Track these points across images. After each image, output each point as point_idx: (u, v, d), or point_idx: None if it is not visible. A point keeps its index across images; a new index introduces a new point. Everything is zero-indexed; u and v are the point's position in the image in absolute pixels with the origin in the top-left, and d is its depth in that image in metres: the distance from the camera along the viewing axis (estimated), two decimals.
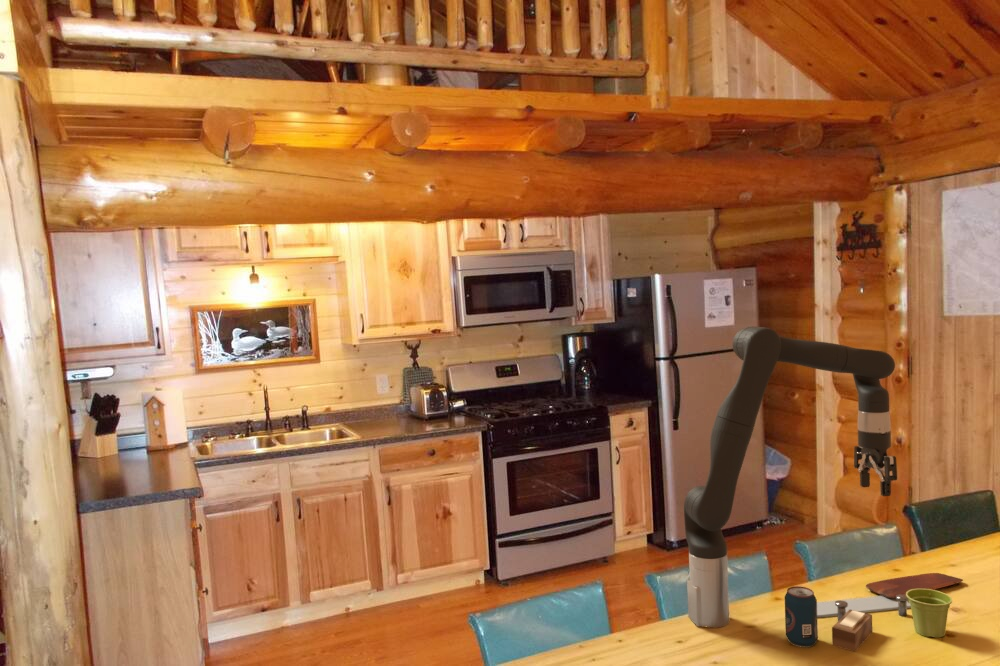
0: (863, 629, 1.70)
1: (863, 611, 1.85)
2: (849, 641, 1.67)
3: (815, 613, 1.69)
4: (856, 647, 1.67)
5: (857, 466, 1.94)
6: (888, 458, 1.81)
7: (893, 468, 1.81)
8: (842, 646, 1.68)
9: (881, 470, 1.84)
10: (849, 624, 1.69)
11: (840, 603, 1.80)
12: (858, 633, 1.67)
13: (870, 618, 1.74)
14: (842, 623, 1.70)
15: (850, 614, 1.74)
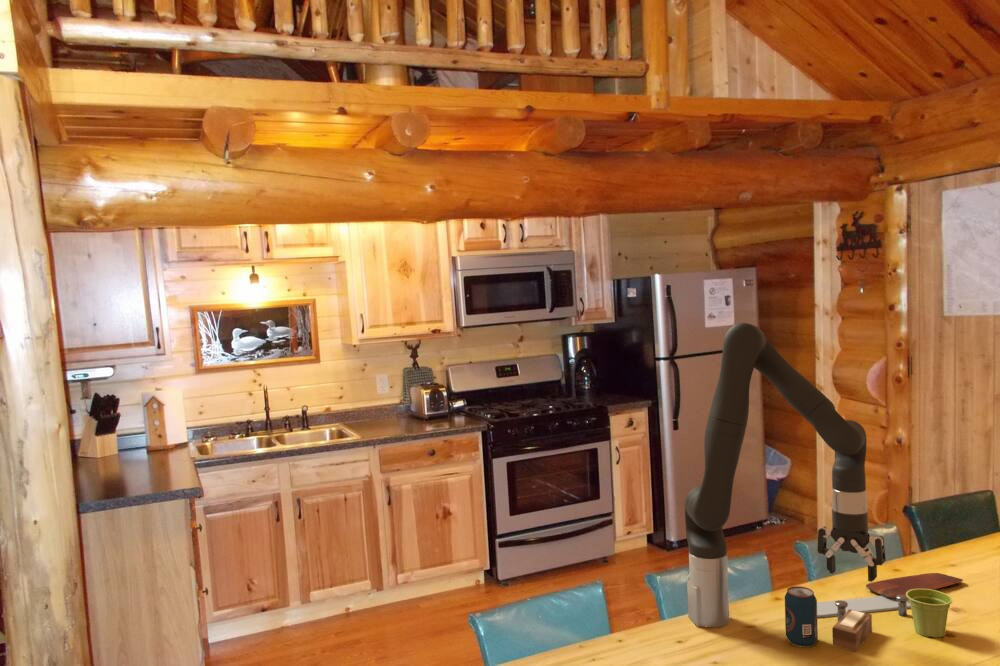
0: (863, 628, 1.70)
1: (863, 611, 1.85)
2: (849, 641, 1.67)
3: (815, 613, 1.69)
4: (856, 647, 1.66)
5: None
6: None
7: None
8: (842, 646, 1.68)
9: None
10: (849, 624, 1.69)
11: (840, 603, 1.80)
12: (858, 633, 1.67)
13: (870, 618, 1.74)
14: (842, 623, 1.70)
15: (850, 614, 1.74)
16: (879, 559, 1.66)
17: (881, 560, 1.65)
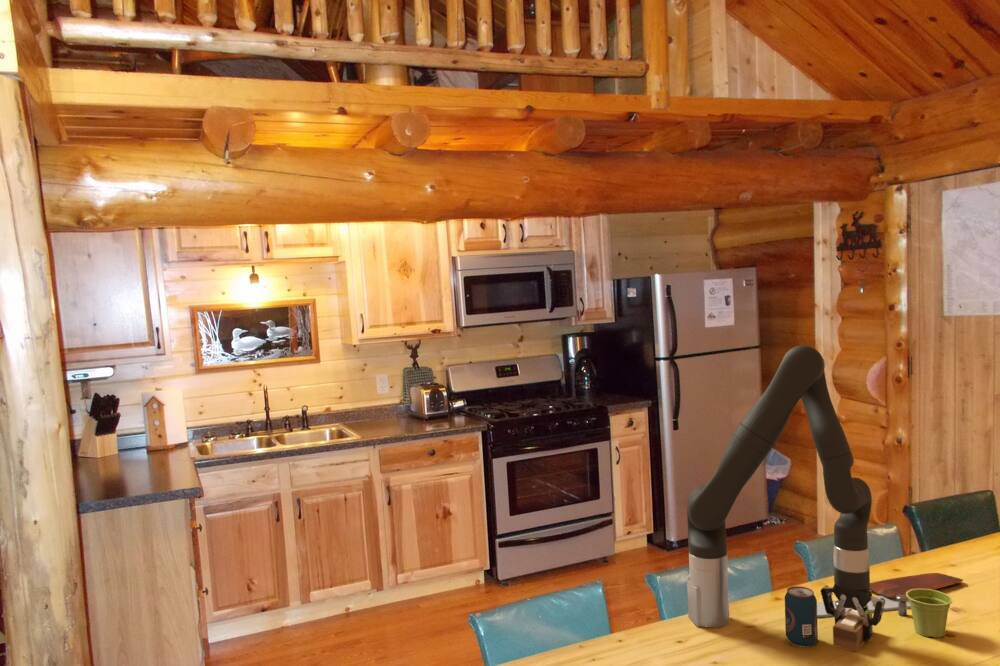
0: None
1: None
2: (850, 640, 1.67)
3: (815, 613, 1.69)
4: (857, 646, 1.66)
5: None
6: None
7: None
8: (843, 645, 1.68)
9: None
10: (850, 623, 1.69)
11: None
12: (858, 633, 1.67)
13: None
14: (843, 622, 1.69)
15: (850, 613, 1.74)
16: (875, 619, 1.67)
17: (877, 621, 1.67)
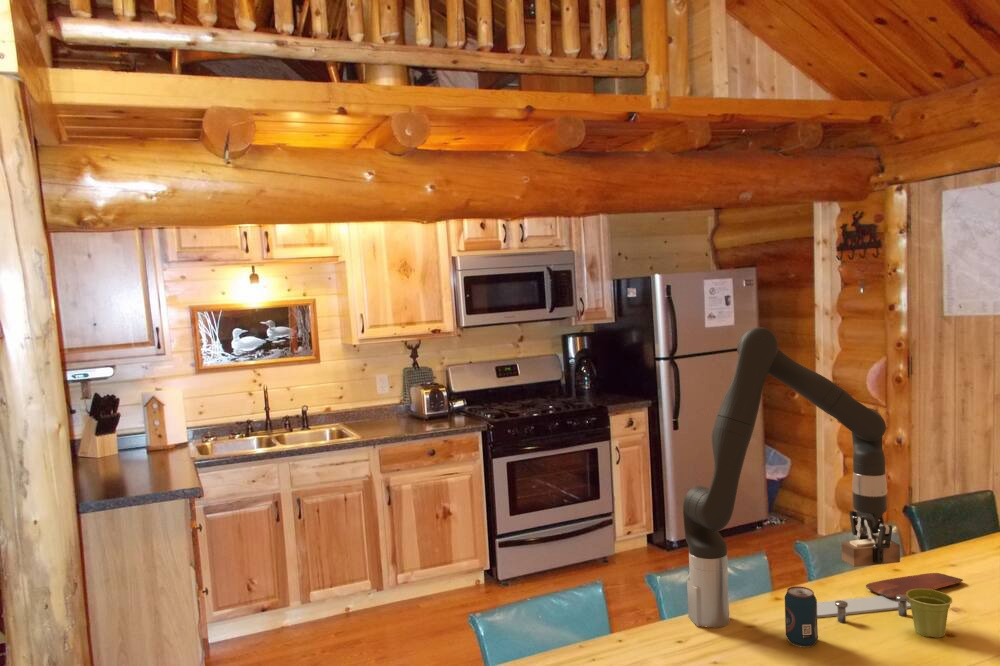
0: None
1: (863, 611, 1.85)
2: (850, 555, 1.79)
3: (815, 613, 1.69)
4: (857, 563, 1.78)
5: None
6: None
7: None
8: (847, 560, 1.80)
9: None
10: (858, 542, 1.80)
11: (840, 603, 1.80)
12: (861, 551, 1.78)
13: (895, 546, 1.79)
14: (853, 541, 1.81)
15: None
16: (879, 543, 1.75)
17: (880, 545, 1.75)
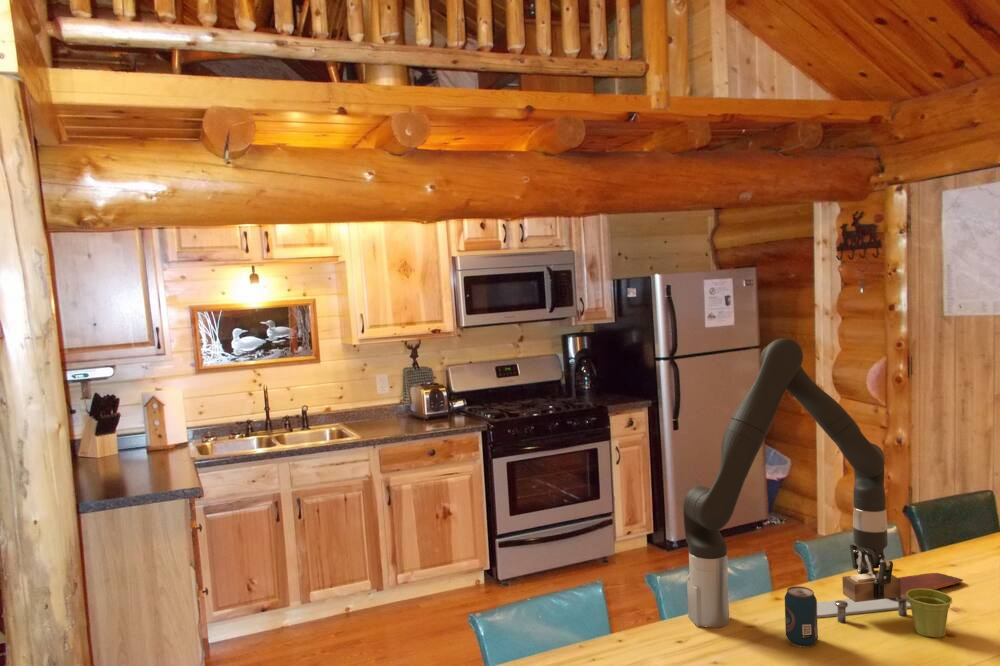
0: None
1: (863, 611, 1.85)
2: (851, 591, 1.79)
3: (815, 613, 1.69)
4: (858, 598, 1.78)
5: None
6: None
7: None
8: (848, 595, 1.81)
9: None
10: (859, 577, 1.80)
11: (840, 603, 1.80)
12: (862, 587, 1.78)
13: (896, 581, 1.80)
14: (854, 575, 1.82)
15: None
16: (879, 578, 1.76)
17: (881, 581, 1.76)
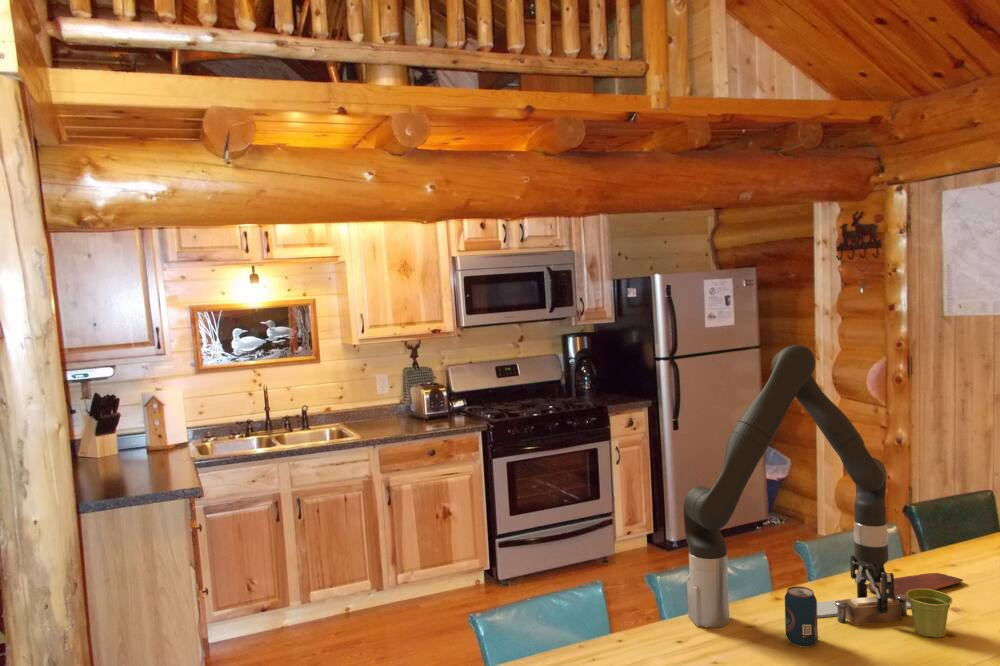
0: (876, 610, 1.79)
1: None
2: (851, 614, 1.80)
3: (815, 613, 1.69)
4: (857, 622, 1.79)
5: None
6: None
7: None
8: (848, 618, 1.81)
9: None
10: (859, 601, 1.81)
11: (840, 603, 1.80)
12: (862, 610, 1.79)
13: (896, 606, 1.79)
14: (854, 599, 1.82)
15: (876, 597, 1.82)
16: (883, 592, 1.75)
17: (884, 594, 1.74)
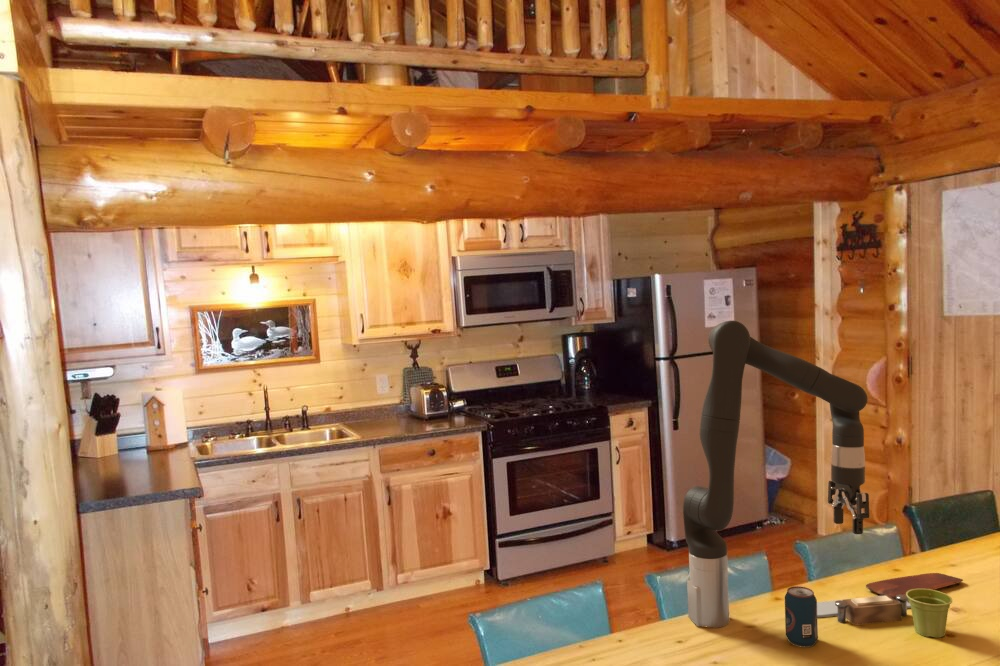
0: (876, 610, 1.79)
1: None
2: (851, 614, 1.80)
3: (815, 613, 1.69)
4: (857, 622, 1.79)
5: None
6: None
7: None
8: (848, 618, 1.81)
9: None
10: (859, 601, 1.81)
11: (840, 603, 1.80)
12: (862, 610, 1.79)
13: (896, 606, 1.79)
14: (854, 599, 1.82)
15: (876, 597, 1.82)
16: (858, 512, 1.75)
17: (859, 514, 1.75)
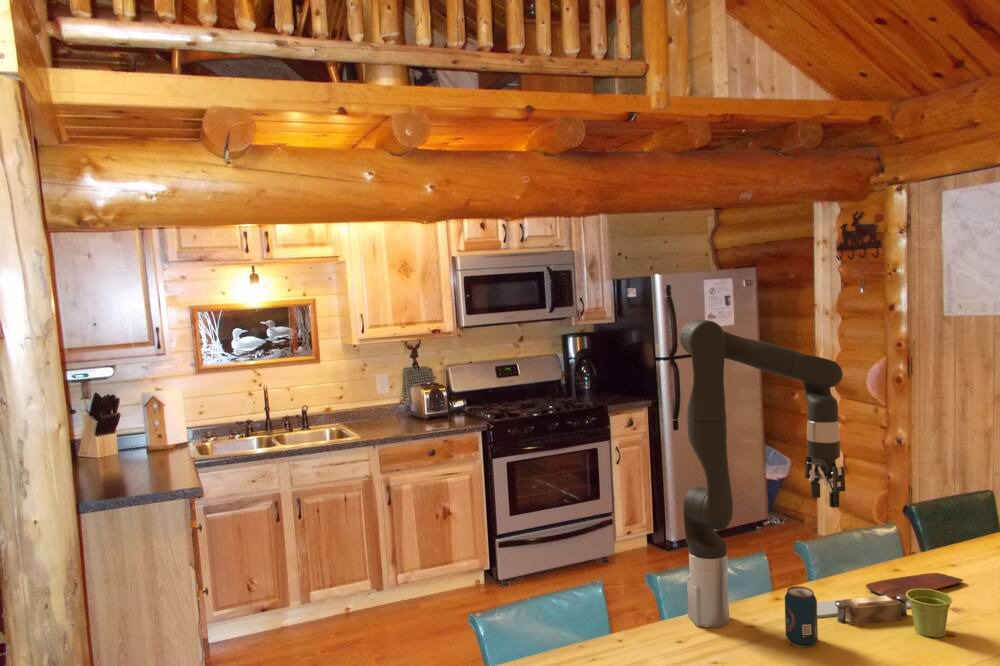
0: (876, 610, 1.79)
1: None
2: (851, 614, 1.80)
3: (815, 613, 1.69)
4: (857, 621, 1.79)
5: None
6: None
7: None
8: (848, 618, 1.81)
9: None
10: (859, 601, 1.81)
11: (840, 603, 1.80)
12: (862, 610, 1.79)
13: (896, 606, 1.79)
14: (854, 599, 1.82)
15: (876, 597, 1.83)
16: (834, 486, 1.78)
17: (835, 487, 1.77)
